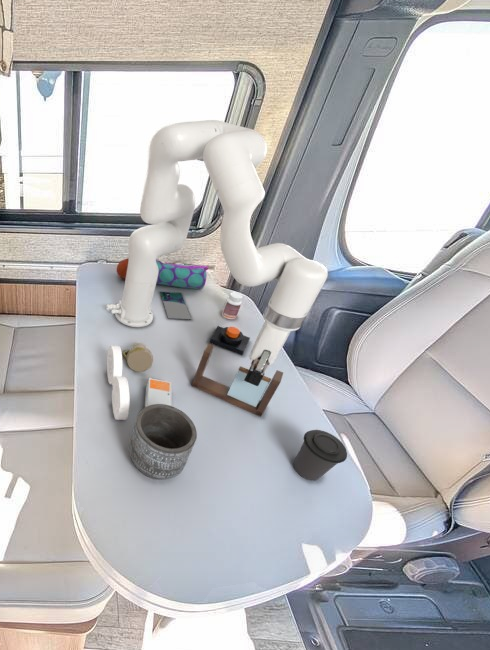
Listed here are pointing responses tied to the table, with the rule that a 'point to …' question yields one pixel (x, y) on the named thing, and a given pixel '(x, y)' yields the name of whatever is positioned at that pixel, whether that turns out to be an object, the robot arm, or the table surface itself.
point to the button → (232, 332)
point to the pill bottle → (232, 305)
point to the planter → (162, 441)
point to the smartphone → (175, 305)
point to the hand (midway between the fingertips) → (254, 374)
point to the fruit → (122, 268)
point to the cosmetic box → (158, 392)
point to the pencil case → (181, 275)
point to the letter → (118, 384)
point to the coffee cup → (318, 454)
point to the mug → (139, 357)
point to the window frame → (222, 390)
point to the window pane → (247, 387)
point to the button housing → (229, 341)
